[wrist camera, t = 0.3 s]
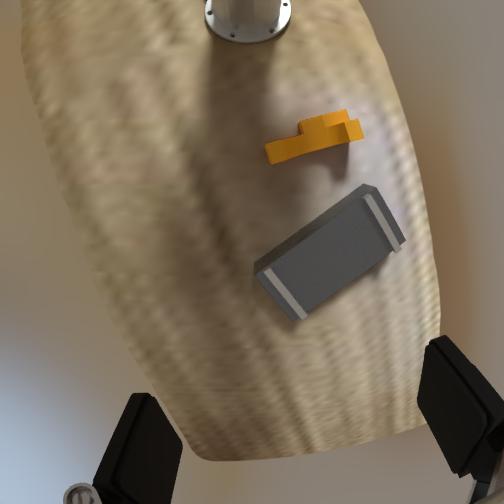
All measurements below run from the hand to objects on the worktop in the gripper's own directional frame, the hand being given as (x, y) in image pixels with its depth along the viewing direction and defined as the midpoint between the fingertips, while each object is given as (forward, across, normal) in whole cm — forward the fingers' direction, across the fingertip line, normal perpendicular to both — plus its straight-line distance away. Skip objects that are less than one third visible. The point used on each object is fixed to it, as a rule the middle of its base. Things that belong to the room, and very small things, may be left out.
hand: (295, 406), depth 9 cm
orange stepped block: (+36, -8, -10) cm, 38 cm away
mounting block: (+35, -8, +7) cm, 37 cm away
